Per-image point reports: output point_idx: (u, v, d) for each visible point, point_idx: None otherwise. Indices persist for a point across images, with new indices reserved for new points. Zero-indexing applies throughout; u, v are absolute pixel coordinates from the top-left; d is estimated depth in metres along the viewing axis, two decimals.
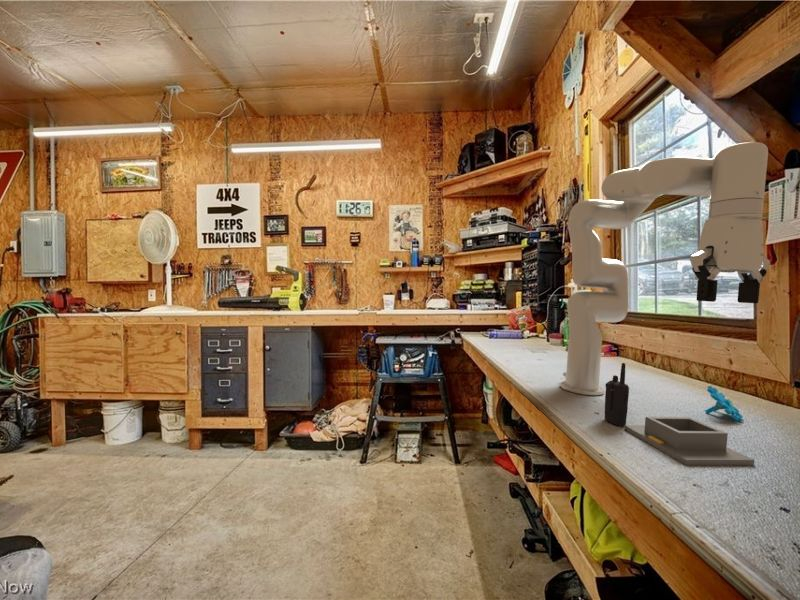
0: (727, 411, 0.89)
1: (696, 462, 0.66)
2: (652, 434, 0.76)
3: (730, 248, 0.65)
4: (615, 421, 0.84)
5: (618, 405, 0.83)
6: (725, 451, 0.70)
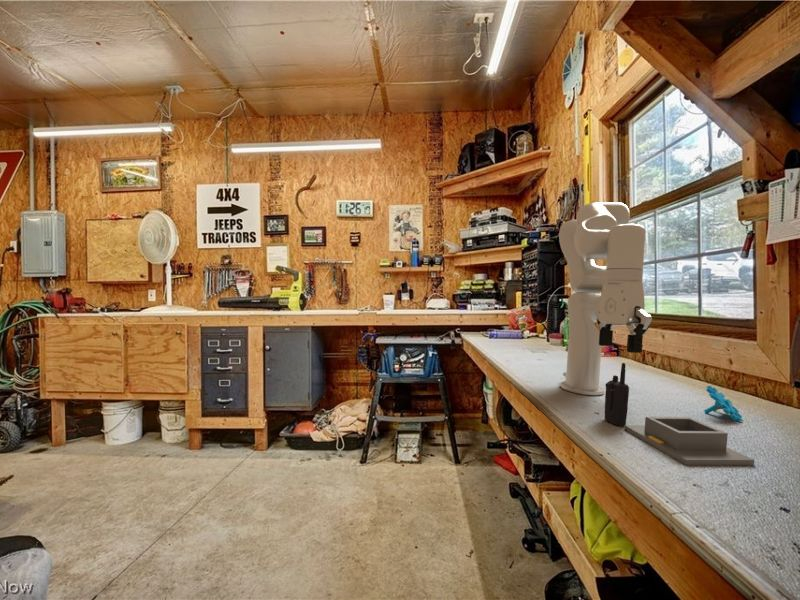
0: (726, 411, 0.90)
1: (696, 462, 0.66)
2: (652, 434, 0.76)
3: None
4: (615, 421, 0.84)
5: (618, 405, 0.83)
6: (725, 451, 0.70)
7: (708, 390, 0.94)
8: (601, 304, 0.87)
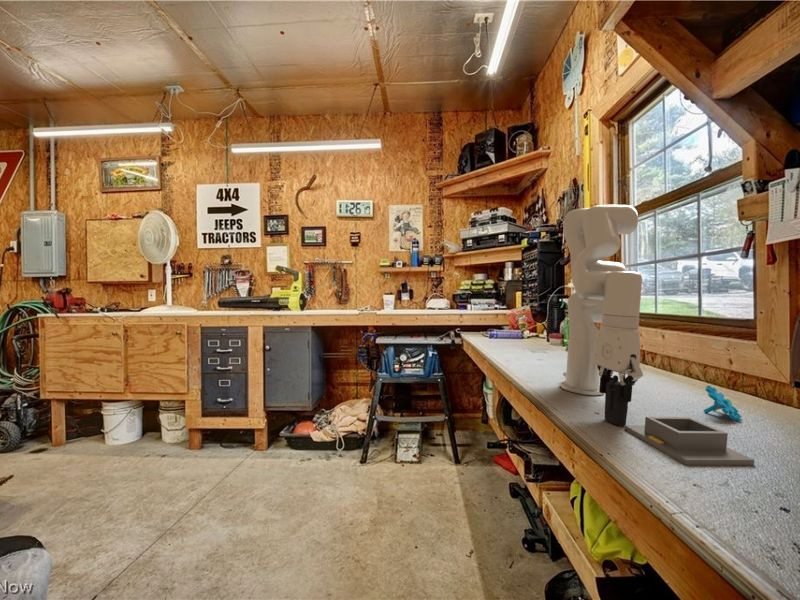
0: (724, 410, 0.90)
1: (696, 462, 0.66)
2: (652, 434, 0.76)
3: None
4: (615, 421, 0.84)
5: (618, 405, 0.83)
6: (725, 451, 0.70)
7: (707, 390, 0.94)
8: (598, 348, 0.88)
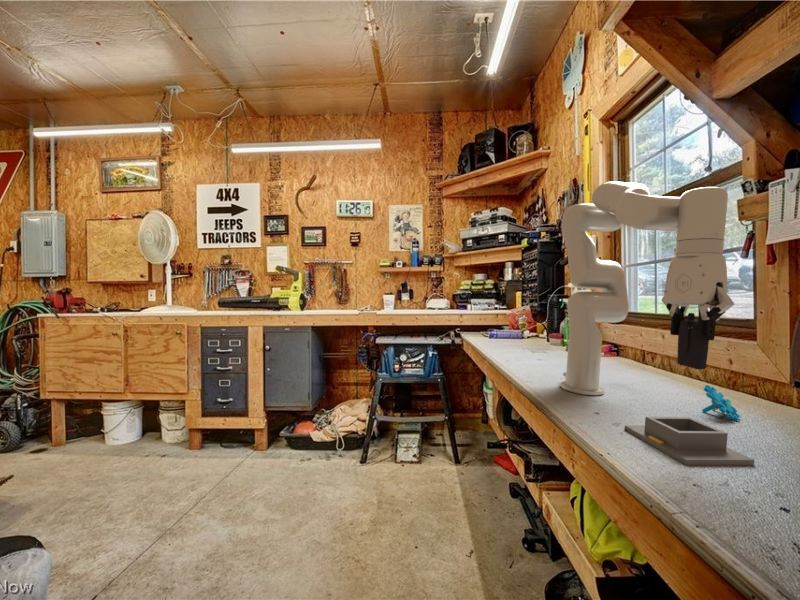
0: (721, 410, 0.90)
1: (696, 462, 0.66)
2: (652, 434, 0.76)
3: None
4: (693, 364, 0.72)
5: (698, 345, 0.71)
6: (725, 451, 0.70)
7: (705, 389, 0.95)
8: (669, 282, 0.76)
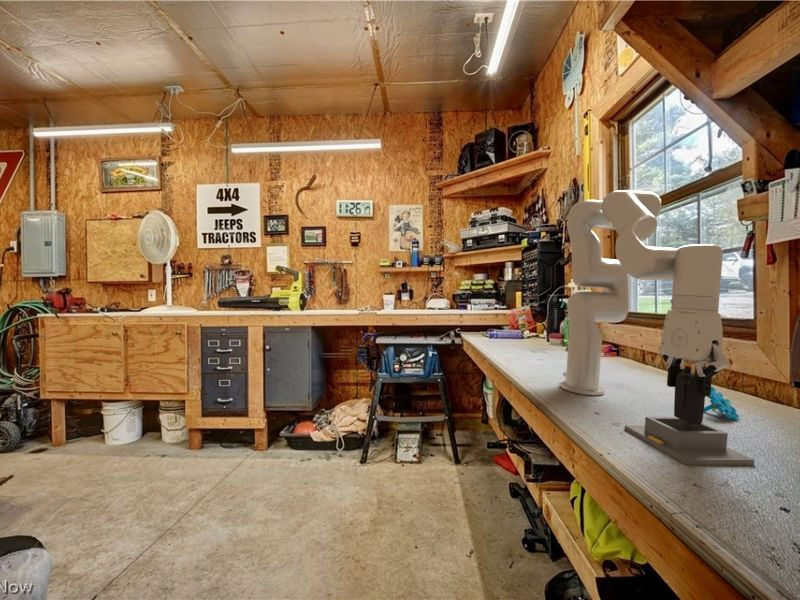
0: (720, 409, 0.90)
1: (696, 462, 0.66)
2: (652, 434, 0.76)
3: None
4: (690, 419, 0.72)
5: (694, 400, 0.72)
6: (725, 451, 0.70)
7: None
8: (666, 334, 0.76)
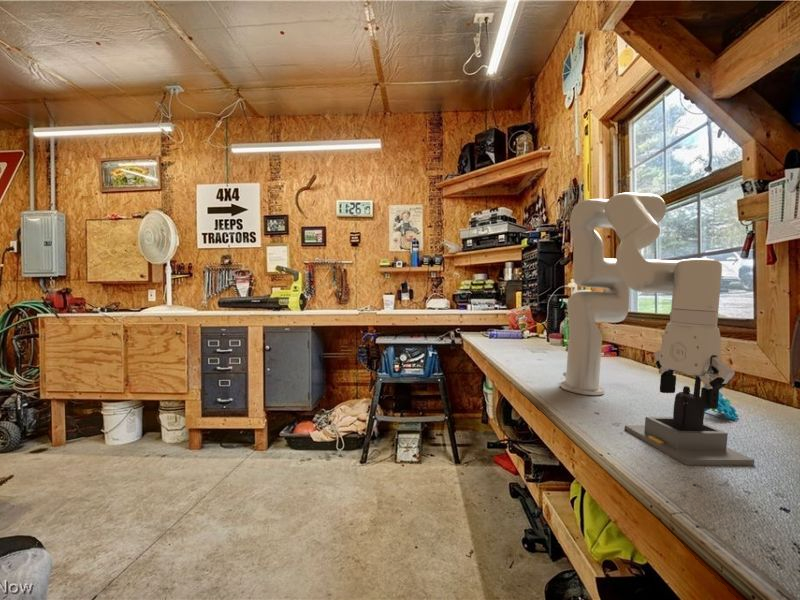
0: (718, 409, 0.91)
1: (696, 462, 0.66)
2: (652, 434, 0.76)
3: None
4: None
5: (693, 421, 0.72)
6: (725, 451, 0.70)
7: None
8: (665, 347, 0.77)
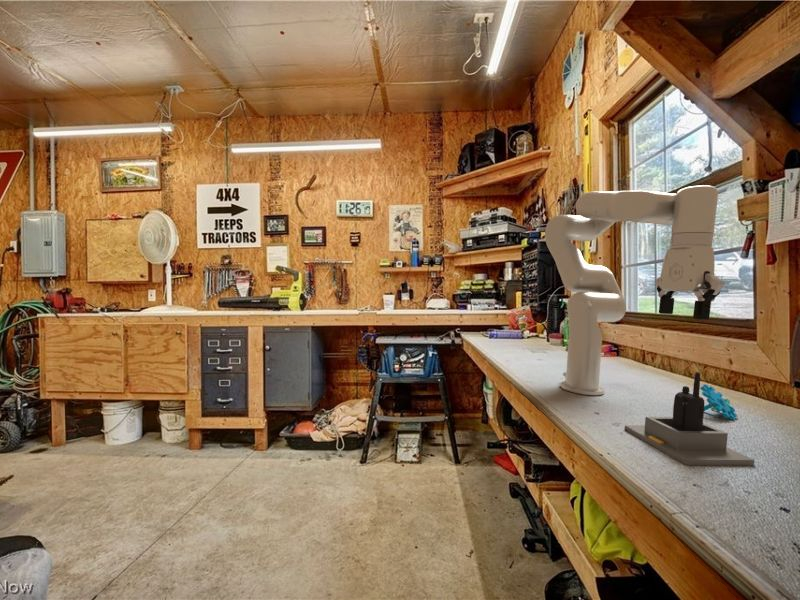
0: (716, 408, 0.91)
1: (696, 462, 0.66)
2: (652, 434, 0.76)
3: None
4: None
5: (692, 421, 0.72)
6: (725, 451, 0.70)
7: (702, 388, 0.96)
8: (664, 271, 0.85)
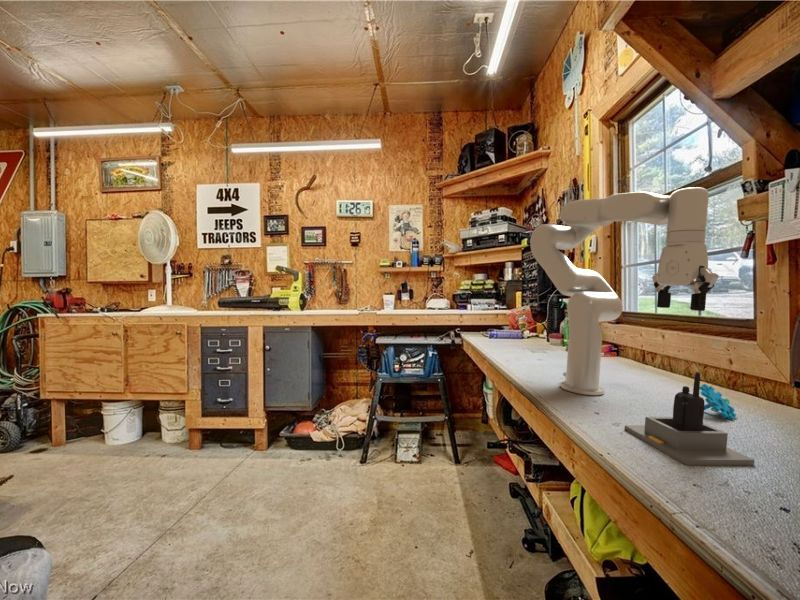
0: (715, 408, 0.91)
1: (696, 462, 0.66)
2: (652, 434, 0.76)
3: None
4: None
5: (692, 421, 0.72)
6: (725, 451, 0.70)
7: (701, 388, 0.96)
8: (661, 267, 0.91)
